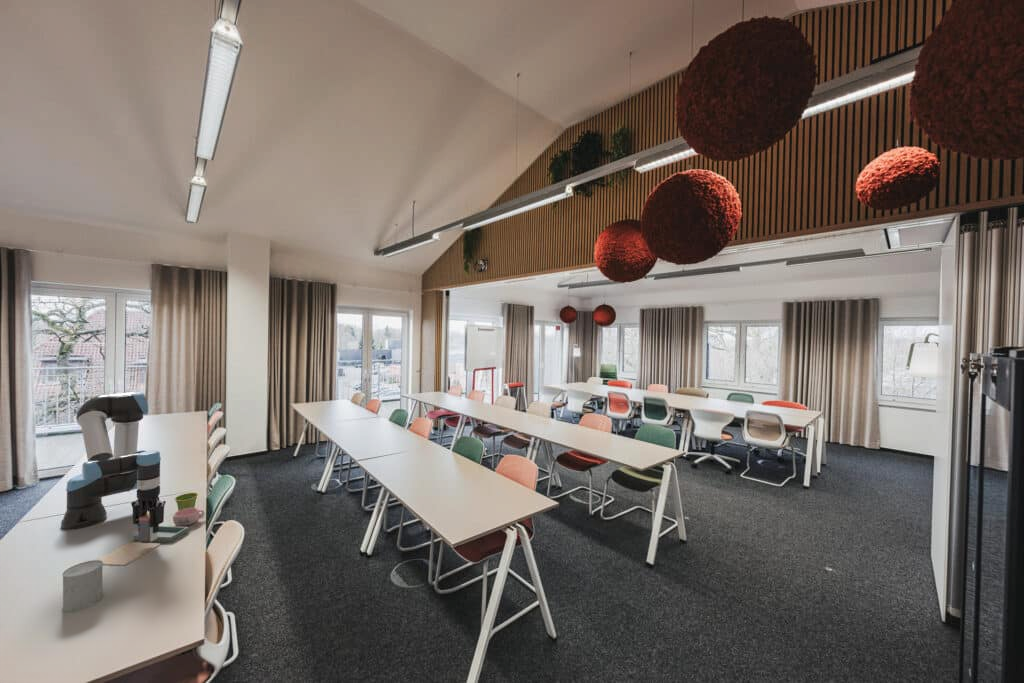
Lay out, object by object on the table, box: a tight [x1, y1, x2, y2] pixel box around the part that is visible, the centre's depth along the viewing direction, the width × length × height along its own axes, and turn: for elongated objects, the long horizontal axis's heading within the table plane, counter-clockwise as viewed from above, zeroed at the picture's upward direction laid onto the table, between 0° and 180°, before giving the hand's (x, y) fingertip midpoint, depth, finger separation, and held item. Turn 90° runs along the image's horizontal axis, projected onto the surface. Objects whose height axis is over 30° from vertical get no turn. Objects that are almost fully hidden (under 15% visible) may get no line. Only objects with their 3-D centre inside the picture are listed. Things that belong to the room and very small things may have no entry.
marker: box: [138, 512, 152, 543], centre depth 170 cm, size 4×4×11 cm
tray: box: [133, 525, 189, 544], centre depth 179 cm, size 17×9×2 cm, turn 89°
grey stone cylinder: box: [62, 559, 104, 613], centre depth 136 cm, size 10×10×12 cm
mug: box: [172, 507, 205, 527], centre depth 192 cm, size 12×10×6 cm
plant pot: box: [174, 492, 199, 512], centre depth 202 cm, size 9×9×9 cm
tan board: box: [97, 541, 162, 567], centre depth 165 cm, size 14×16×1 cm
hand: (148, 539), depth 170 cm, fingers closed on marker, 4 cm apart
